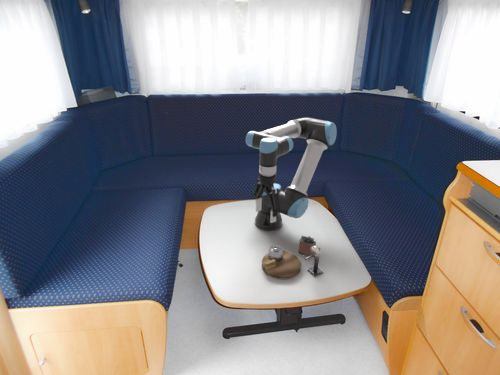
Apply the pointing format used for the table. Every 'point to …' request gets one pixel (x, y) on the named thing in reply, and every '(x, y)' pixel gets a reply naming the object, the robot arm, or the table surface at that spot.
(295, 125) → the robot arm
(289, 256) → the turntable
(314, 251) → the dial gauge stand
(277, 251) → the cover
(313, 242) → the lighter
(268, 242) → the table surface
